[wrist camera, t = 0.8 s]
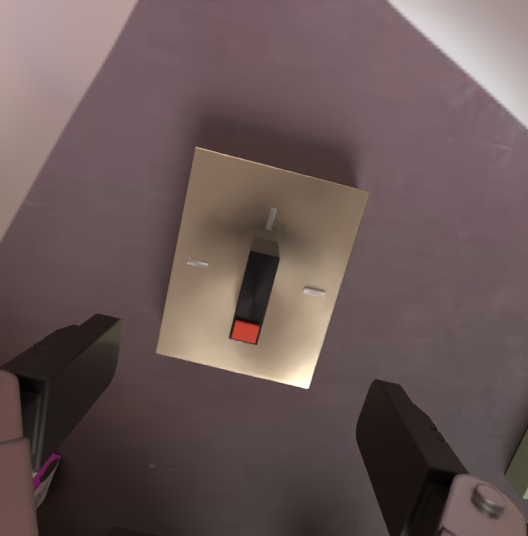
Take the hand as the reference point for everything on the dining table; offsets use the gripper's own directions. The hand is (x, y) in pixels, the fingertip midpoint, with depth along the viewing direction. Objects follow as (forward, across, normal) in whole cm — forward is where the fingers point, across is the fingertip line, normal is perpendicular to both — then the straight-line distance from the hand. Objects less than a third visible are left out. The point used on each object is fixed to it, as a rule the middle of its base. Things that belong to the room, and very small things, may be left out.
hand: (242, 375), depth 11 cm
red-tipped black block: (+12, 0, 0) cm, 12 cm away
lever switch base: (+15, 0, 0) cm, 15 cm away
